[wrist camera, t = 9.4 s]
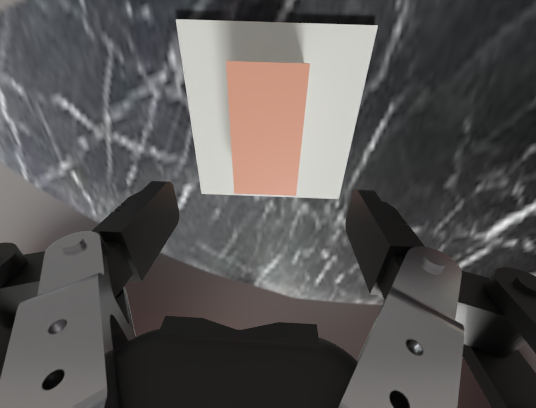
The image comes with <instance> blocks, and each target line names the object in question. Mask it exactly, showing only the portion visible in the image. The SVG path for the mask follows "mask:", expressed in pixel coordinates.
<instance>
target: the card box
mask: <svg viewBox="0 0 536 408" xmlns="http://www.w3.org/2000/svg"><path fill="white" fill-rule="evenodd" d="M309 69H310V63H303V62H270V61H237V60H234V61H226V71H227V87H228V103H229V119H230V135H231V151H232V167H233V183H234V194H261V195H288V196H296V192H297V182H298V173H299V163H300V154H301V145H302V135H303V126H304V116H305V107H306V97H307V88H308V78H309Z"/></svg>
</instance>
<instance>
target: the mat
mask: <svg viewBox="0 0 536 408" xmlns="http://www.w3.org/2000/svg"><path fill="white" fill-rule="evenodd" d="M176 24H177V31H178V38H179V45H180V51H181V58H182V65H183V72H184V78H185V85H186V92H187V98H188V105H189V112H190V119H191V125H192V132H193V139H194V146H195V152H196V159H197V166H198V172H199V179H200V186H201V193H202V194H222V195H249V196H275V197H302V198H328V199H339V195H340V191H341V186H342V182H343V178H344V173H345V169H346V164H347V160H348V155H349V151H350V147H351V142H352V138H353V133H354V129H355V124H356V120H357V116H358V111H359V107H360V102H361V98H362V93H363V89H364V85H365V80H366V76H367V71H368V67H369V62H370V58H371V54H372V49H373V45H374V40H375V36H376V32H377V27H378V25H348V24H316V23H283V22H251V21H218V20H185V19H176ZM234 60H237V61H270V62H303V63H310V69H309V78H308V88H307V97H306V107H305V116H304V126H303V135H302V145H301V154H300V163H299V173H298V182H297V192H296V196H288V195H261V194H234V183H233V167H232V151H231V135H230V119H229V103H228V87H227V71H226V61H234Z"/></svg>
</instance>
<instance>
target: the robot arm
mask: <svg viewBox="0 0 536 408" xmlns="http://www.w3.org/2000/svg"><path fill="white" fill-rule="evenodd" d="M178 221H179V209H178V205H177V200H176V196H175V191H174V187H173V185H172V183H171V182H163V181H152V182H150V183H149V184H148V185H147V186H146V187H145V188H144V189H143V190H142V191H140V192H138V193H136V194H134V195H132V196H130V197H128V198H127V199H126V200H125V201H124V202H123V203H122V204H121V206H119V207H117V208H116V209H115V211H114V212H112V213H111V214H110V215H109V216H108V217H106V218H105V219H104V220H103V221H102V222H101V223H100V224H99V225H98V226H97V227H95V228H94V229H93V230H92V231H83V232H78V233H73V234H71V235H68V236H65V237H63V238H61V239H59V240H57V241H56V242H54V243H53V244H52V245H50V246H49V247H48V249H47V250H46V251H44V252H38V253H32V254H26V255H23V254H22V253H21V251H20V250H19V249H18V247H17V246H16V245H15V244H13V243H0V408H457V403H458V394H459V384H460V374H461V364H462V356H463V357H464V359H465V361H466V363H467V364H468V366H469V368H470V370H471V371H472V373H473V375H474V377H475V379H476V380H477V382H478V384H479V386H480V387H481V389H482V391H483V393H484V395H485V396H486V398H487V400H488V402H489V404H490V405H491V407H492V408H536V373H535V372H534V370H533V369H532V368H531V366H530V365H529V364H528V363H527V361H526V360H525V359H524V358H523V356H522V355H521V353H520V352H519V351H518V348H520V347H521V346H522V345H523V344H524V343H526V342H527V343H528V344H529V345H530V347H531V348H532V349H533V351H534V352H535V353H536V276H534V275H532V274H529V273H527V272H524V271H521V270H518V269H514V268H499V269H497V270H496V271H495V272H494V273H493V275H492V276H491V277H490V278H487V277H483V276H479V275H475V274H471V273H468V272H464V271H461V269H460V267H459V266H458V264H457V263H456V262H455V261H454V260H453V259H451V258H450V257H449V256H447V255H446V254H444V253H442V252H440V251H438V250H435V249H432V248H428V247H425V246H424V245H423V243H422V242H421V241H420V239H419V238H418V237H417V236H416V234H415V233H414V232H413V230H412V229H411V228H410V227H409V225H407V223H406V221H405V220H404V219H403V218H402V216H401V215H400V214H399V212H398V211H397V210H396V209H395V208H394V207H392V206H391V205H389V204H388V203H386V202H382V201H381V199H380V198H379V197H378V195H377V194H376V192H375V191H374V190H354V192H353V194H352V198H351V202H350V206H349V210H348V214H347V218H346V232H347V235H348V238H349V240H350V243H351V245H352V248H353V251H354V253H355V256H356V258H357V261H358V264H359V266H360V269H361V272H362V274H363V277H364V279H365V282H366V285H367V287H368V290H369V292H370V294H375V295H383V297H384V300H385V301H384V303H383V305H382V307H381V309H380V312H379V314H378V316H377V318H376V320H375V323H374V325H373V327H372V329H371V332H370V334H369V336H368V338H367V340H366V342H365V345H364V347H363V349H362V351H361V353H360V356H359V358H358V360H357V361H356V360H355V359H354V358H353V357H352V356H351V355H349V354H348V353H347V352H346V351H344V350H343V349H341V348H340V347H338V346H336V345H335V344H333V343H331V342H329V341H327V340H325V339H322V338H319V337H318V331H317V325H316V324H300V323H282V322H279V323H273V324H268V325H263V326H258V327H254V328H249V329H244V330H236V329H233V328H230V327H227V326H224V325H221V324H218V323H215V322H212V321H209V320H206V319H204V318H193V317H175V316H166V317H165V319H164V321H163V323H162V325H161V328H160V329H157V330H153V331H150V332H147V333H145V334H142V335H140V336H137V337H136V335H135V331H134V327H133V322H132V317H131V313H130V307H129V302H128V297H127V292H126V290H125V287H124V286H125V284H126V283H127V281H142V280H143V278H144V277H145V275H146V274H147V272H148V270H149V269H150V267H151V266H152V264H153V262H154V261H155V259H156V258H157V256H158V254H159V253H160V251H161V250H162V248H163V246H164V245H165V243H166V242H167V240H168V238H169V237H170V235H171V234H172V232H173V230H174V229H175V227H176V226H177V224H178Z"/></svg>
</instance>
